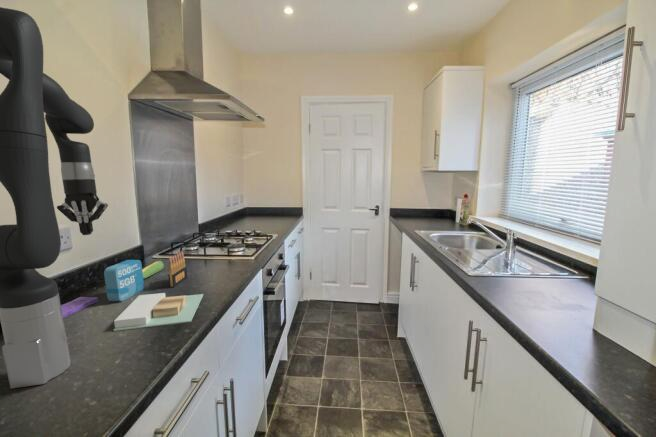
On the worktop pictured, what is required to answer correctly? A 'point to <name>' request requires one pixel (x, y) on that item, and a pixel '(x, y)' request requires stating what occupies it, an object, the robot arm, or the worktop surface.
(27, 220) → the robot arm
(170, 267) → the ammunition clip
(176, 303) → the coaster
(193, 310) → the mat
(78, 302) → the sponges
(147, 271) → the edible corn
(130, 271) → the data package
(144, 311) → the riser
